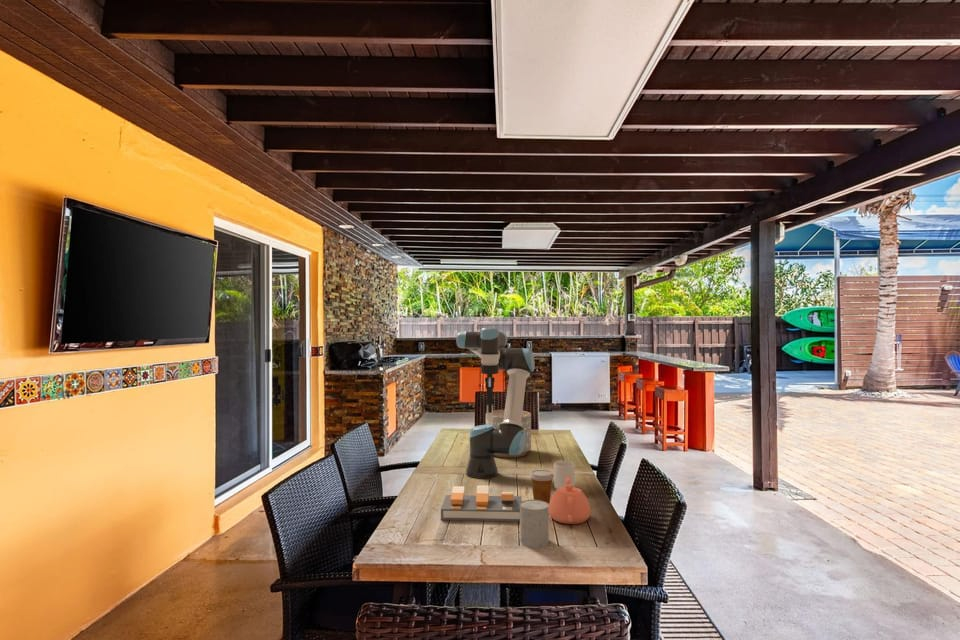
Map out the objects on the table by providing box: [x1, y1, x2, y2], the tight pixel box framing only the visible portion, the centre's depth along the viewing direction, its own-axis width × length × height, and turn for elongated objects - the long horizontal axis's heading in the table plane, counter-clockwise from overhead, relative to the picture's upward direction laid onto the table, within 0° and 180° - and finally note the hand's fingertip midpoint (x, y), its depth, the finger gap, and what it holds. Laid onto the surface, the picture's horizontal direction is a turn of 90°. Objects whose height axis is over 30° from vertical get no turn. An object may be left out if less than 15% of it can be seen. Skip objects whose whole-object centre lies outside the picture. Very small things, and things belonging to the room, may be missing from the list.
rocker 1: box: [450, 485, 466, 505], centre depth 200 cm, size 10×4×2 cm, turn 177°
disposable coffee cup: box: [529, 469, 554, 504], centre depth 212 cm, size 10×10×12 cm
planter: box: [485, 409, 532, 458], centre depth 294 cm, size 26×26×22 cm
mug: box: [553, 460, 576, 490], centre depth 231 cm, size 12×9×11 cm
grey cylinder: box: [519, 499, 550, 549], centre depth 174 cm, size 10×10×12 cm
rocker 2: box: [475, 484, 490, 506], centre depth 200 cm, size 10×4×2 cm, turn 177°
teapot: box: [548, 477, 592, 525], centre depth 195 cm, size 22×16×12 cm
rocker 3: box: [500, 491, 515, 501], centre depth 199 cm, size 10×4×2 cm, turn 177°
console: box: [440, 494, 523, 523], centre depth 200 cm, size 16×30×5 cm, turn 87°
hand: (490, 419), depth 222 cm, fingers closed
